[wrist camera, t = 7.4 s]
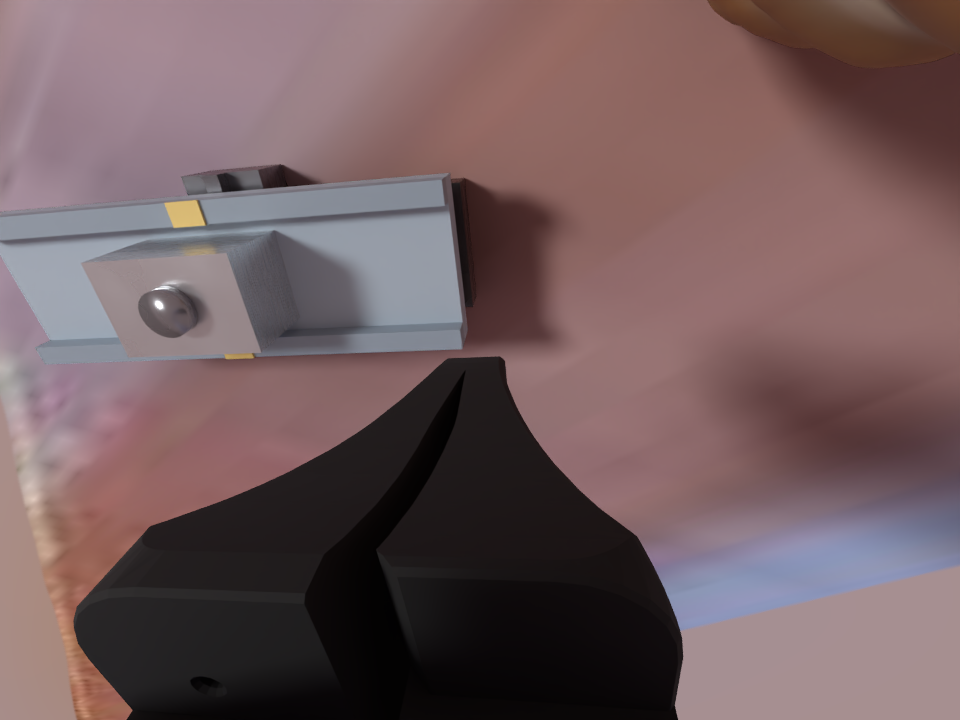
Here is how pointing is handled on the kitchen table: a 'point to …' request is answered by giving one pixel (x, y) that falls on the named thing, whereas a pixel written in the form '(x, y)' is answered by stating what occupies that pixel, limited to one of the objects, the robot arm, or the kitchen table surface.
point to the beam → (306, 254)
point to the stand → (275, 179)
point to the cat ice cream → (854, 27)
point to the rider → (196, 294)
